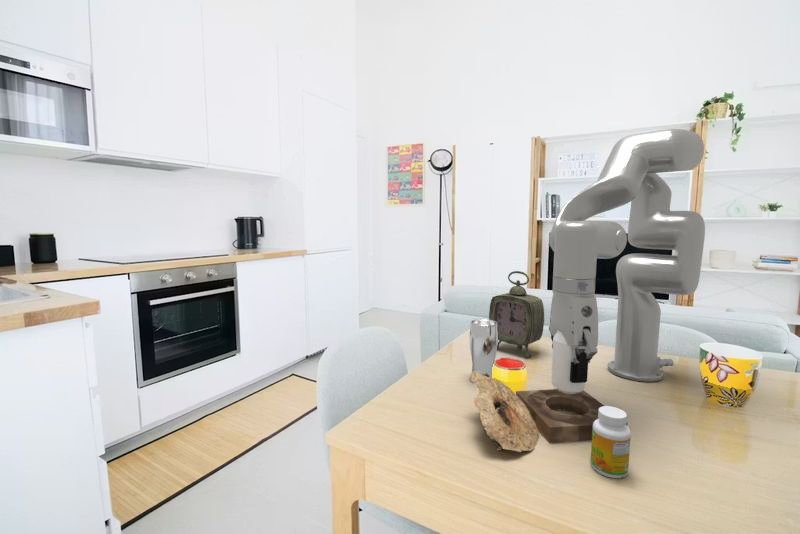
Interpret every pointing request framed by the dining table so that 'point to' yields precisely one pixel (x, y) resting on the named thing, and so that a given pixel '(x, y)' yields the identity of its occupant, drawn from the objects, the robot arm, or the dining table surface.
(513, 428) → the holed granite stone
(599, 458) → the supplement bottle
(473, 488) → the dining table surface
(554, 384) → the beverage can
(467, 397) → the dining table surface
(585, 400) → the can holder
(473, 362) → the beer glass
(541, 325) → the tabletop clock
